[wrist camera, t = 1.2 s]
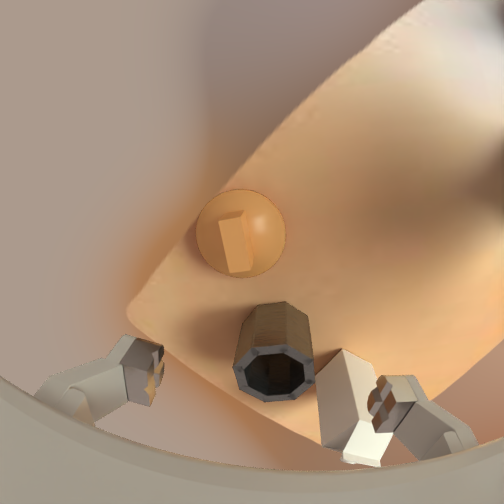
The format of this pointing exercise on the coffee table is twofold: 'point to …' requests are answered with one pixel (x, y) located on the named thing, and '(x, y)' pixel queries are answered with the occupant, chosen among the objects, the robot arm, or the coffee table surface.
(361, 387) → the milk carton
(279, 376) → the graphite tube
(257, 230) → the orange cap
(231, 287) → the coffee table surface
